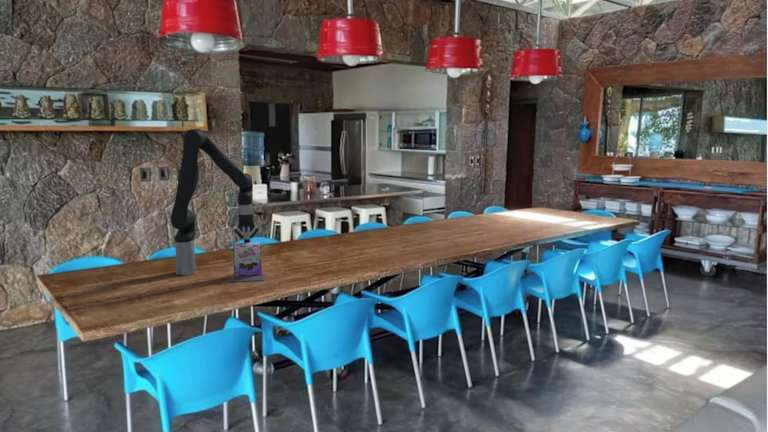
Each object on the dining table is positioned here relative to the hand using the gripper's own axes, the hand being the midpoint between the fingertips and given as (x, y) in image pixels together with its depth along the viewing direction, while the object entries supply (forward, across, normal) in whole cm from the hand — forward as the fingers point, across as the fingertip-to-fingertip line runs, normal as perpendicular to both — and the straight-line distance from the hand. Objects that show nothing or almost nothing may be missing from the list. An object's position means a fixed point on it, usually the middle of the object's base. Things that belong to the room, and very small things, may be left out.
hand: (247, 246), depth 276 cm
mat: (+14, 0, -11) cm, 18 cm away
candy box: (+14, 0, -2) cm, 15 cm away
